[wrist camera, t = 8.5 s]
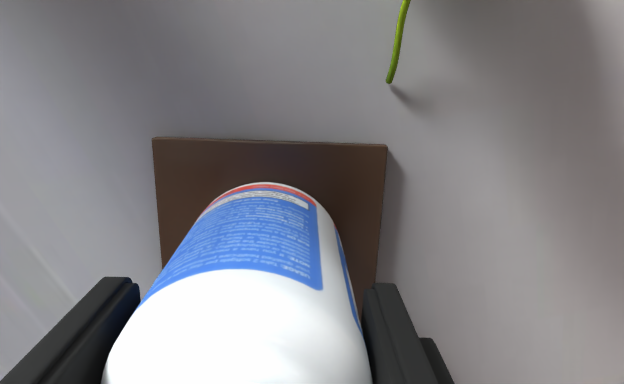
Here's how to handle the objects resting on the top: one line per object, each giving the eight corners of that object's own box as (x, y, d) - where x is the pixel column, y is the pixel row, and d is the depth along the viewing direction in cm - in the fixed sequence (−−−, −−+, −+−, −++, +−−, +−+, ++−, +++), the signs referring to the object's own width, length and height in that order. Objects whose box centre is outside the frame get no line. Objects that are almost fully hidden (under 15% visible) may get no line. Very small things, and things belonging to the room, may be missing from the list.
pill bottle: (162, 245, 14) (-111, 576, 5) (269, 147, 13) (185, 322, 4) (267, 339, 15) (210, 745, 6) (372, 255, 14) (496, 585, 5)
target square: (171, 334, 16) (167, 340, 15) (155, 136, 13) (151, 138, 13) (368, 337, 16) (369, 344, 16) (385, 144, 14) (388, 146, 13)
